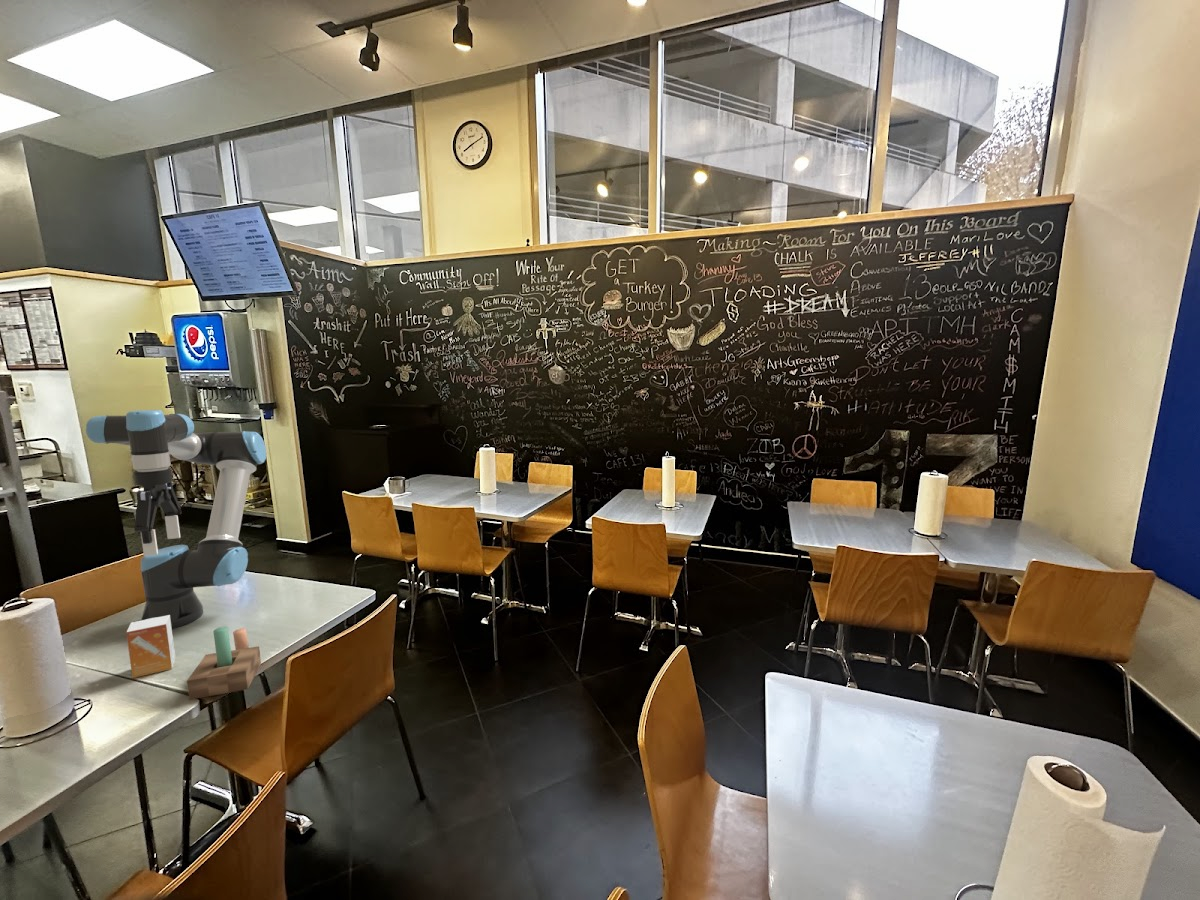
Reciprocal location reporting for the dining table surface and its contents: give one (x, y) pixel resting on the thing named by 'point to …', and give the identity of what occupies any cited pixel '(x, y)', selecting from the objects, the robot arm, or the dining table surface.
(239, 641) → the short dowel
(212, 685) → the collar block
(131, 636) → the small box
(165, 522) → the robot arm
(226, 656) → the long dowel
